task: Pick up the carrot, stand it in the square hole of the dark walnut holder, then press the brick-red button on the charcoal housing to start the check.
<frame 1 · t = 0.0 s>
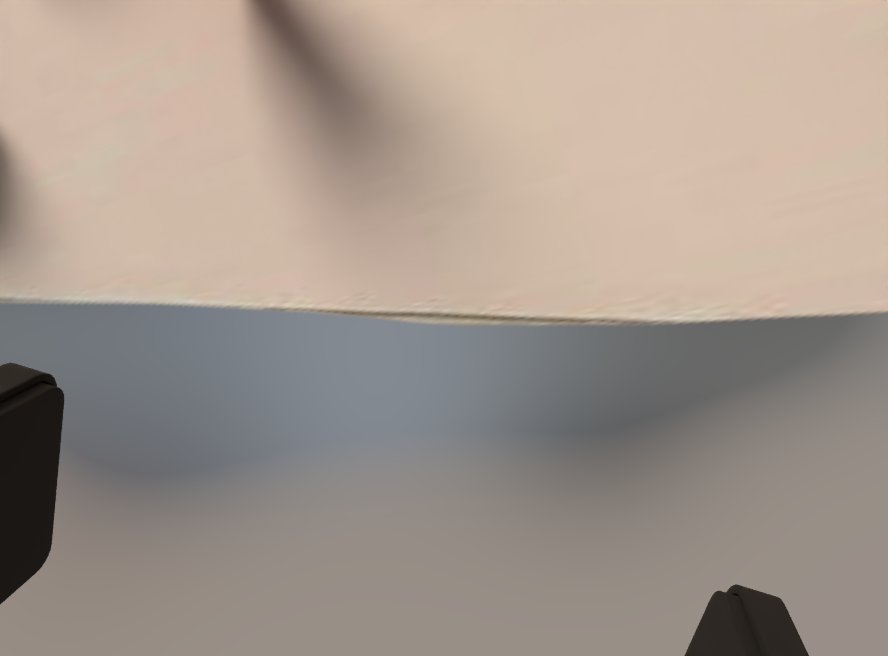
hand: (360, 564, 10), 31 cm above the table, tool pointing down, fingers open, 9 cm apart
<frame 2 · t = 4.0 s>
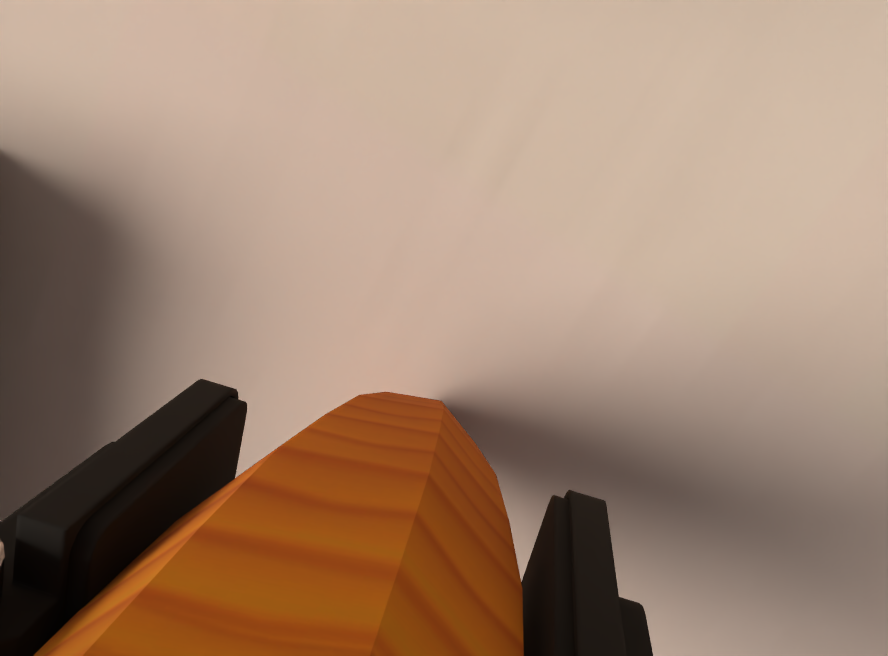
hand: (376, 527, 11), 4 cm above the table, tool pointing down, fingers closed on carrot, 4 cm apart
carrot: (426, 412, 15), on the table, touching gripper
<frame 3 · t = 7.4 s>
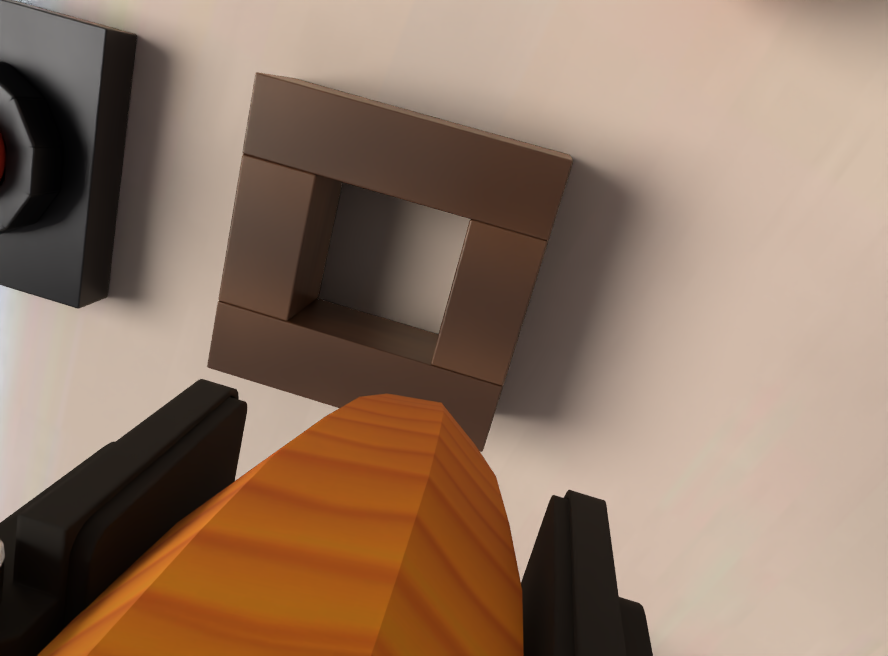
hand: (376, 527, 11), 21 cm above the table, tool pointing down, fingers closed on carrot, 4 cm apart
carrot: (426, 413, 15), point 17 cm above the table, touching gripper
holder: (396, 253, 31), on the table
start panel: (20, 144, 32), on the table
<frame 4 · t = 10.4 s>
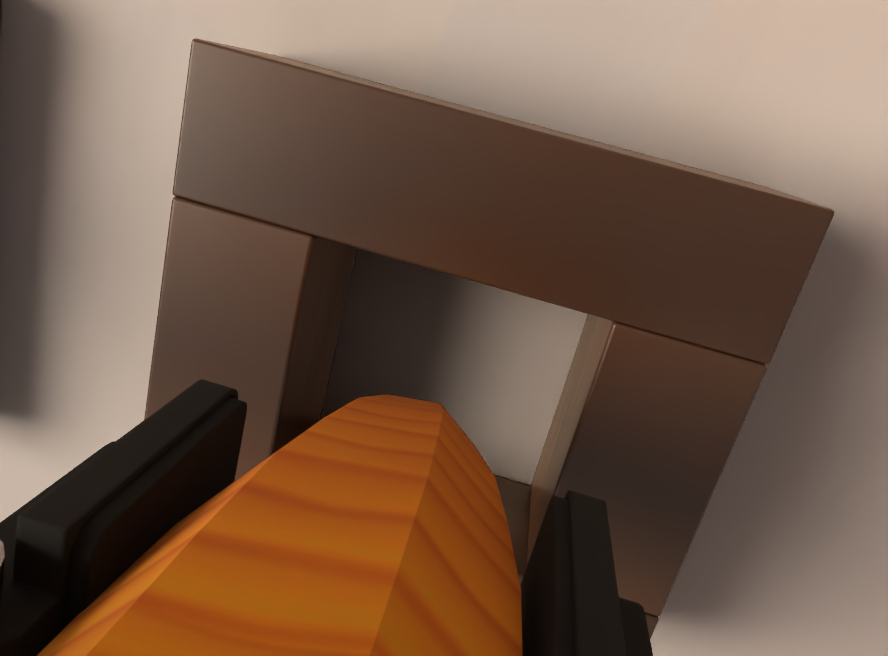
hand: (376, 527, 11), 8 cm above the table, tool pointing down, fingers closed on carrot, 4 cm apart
carrot: (425, 414, 15), point 4 cm above the table, touching gripper
holder: (451, 353, 18), on the table
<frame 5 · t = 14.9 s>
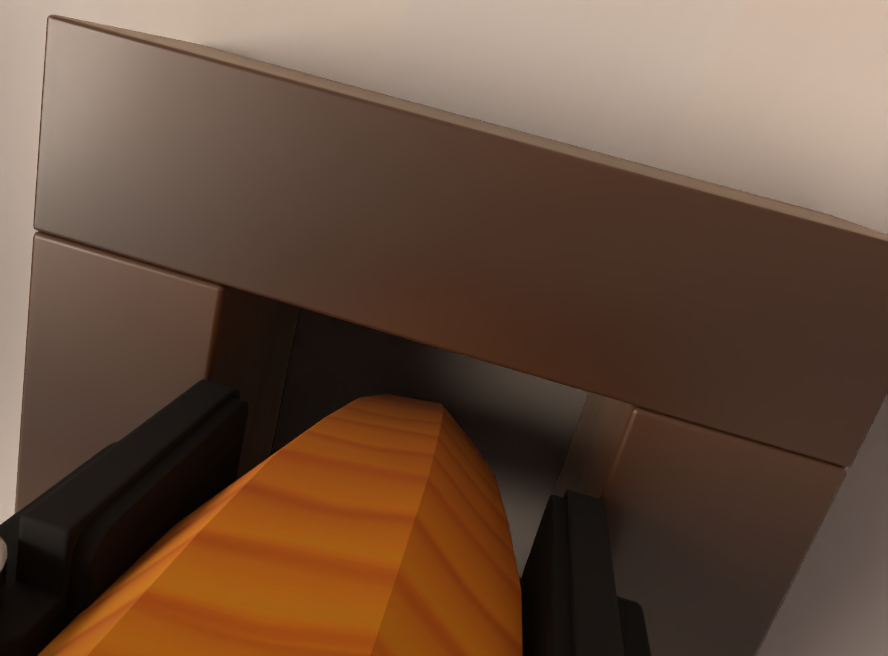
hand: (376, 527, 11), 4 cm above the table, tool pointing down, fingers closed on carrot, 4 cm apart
carrot: (426, 413, 15), resting in holder, touching gripper
holder: (423, 418, 15), on the table
when the fingers open (4 cm above the table, at t = 16.9 s): carrot stays where it is, resting in holder.
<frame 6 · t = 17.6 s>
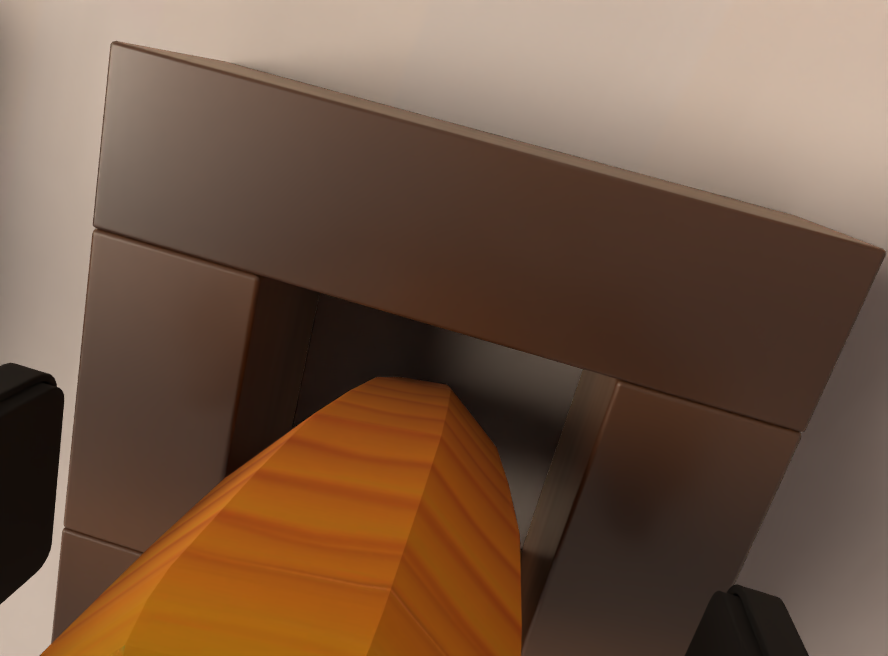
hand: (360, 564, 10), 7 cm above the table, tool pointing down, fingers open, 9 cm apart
carrot: (432, 398, 16), resting in holder
holder: (430, 400, 16), on the table
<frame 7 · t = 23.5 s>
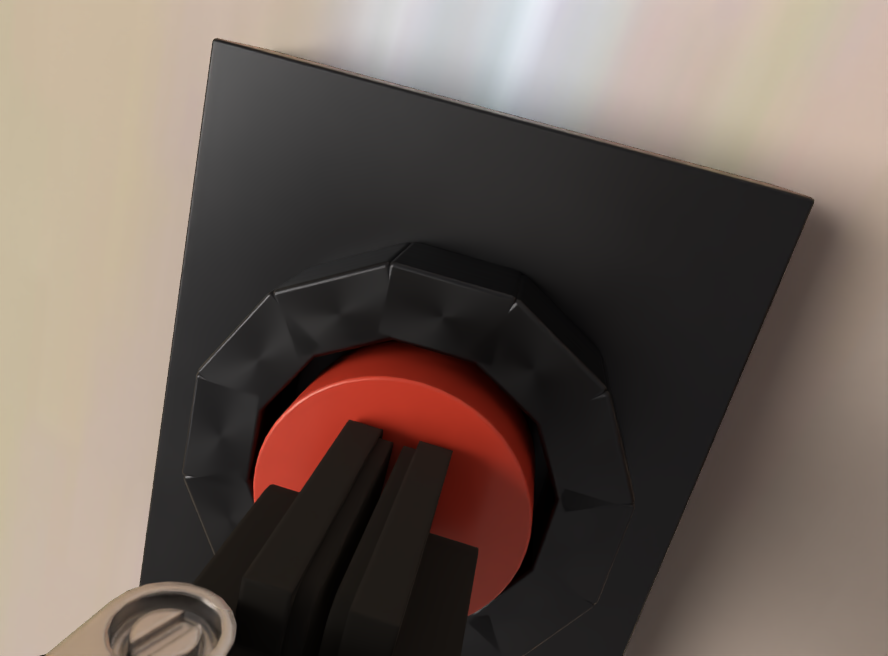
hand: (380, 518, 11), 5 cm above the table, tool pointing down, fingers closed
start button: (400, 482, 12), point 4 cm above the table, slide at -0.6 cm, touching gripper
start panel: (436, 396, 15), on the table
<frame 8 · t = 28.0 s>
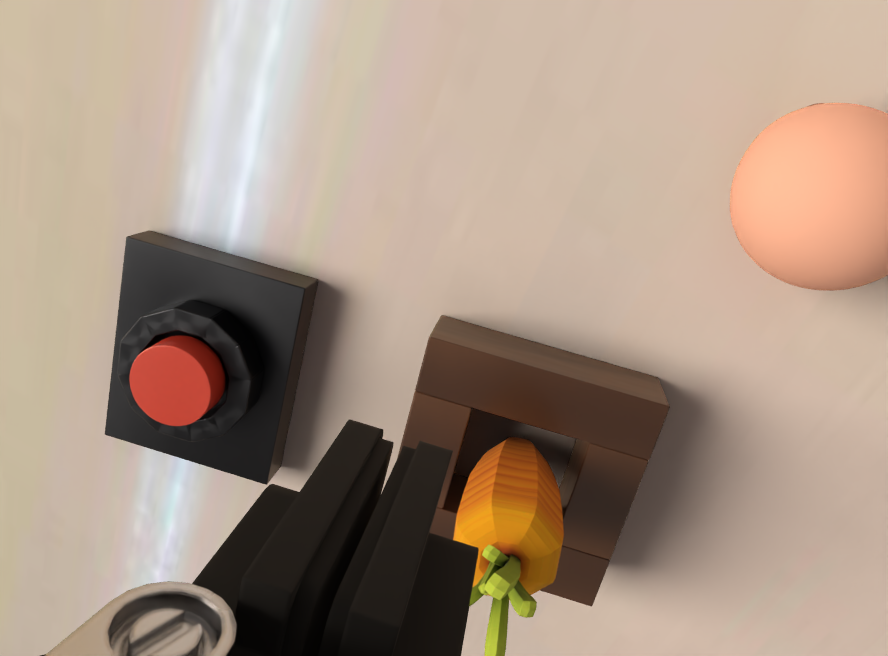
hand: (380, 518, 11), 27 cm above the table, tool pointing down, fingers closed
toy ball: (796, 188, 34), on the table
start button: (178, 380, 37), point 4 cm above the table, slide at 0.1 cm
carrot: (518, 441, 40), resting in holder
holder: (517, 442, 40), on the table
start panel: (217, 353, 41), on the table
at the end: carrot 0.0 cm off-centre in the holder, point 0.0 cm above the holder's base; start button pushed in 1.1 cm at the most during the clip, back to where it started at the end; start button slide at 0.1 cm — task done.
